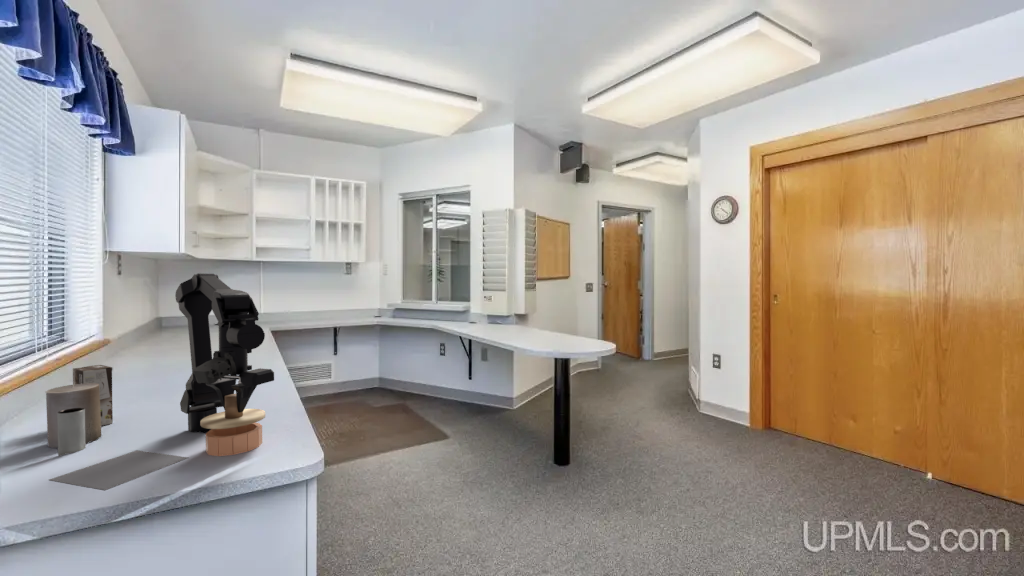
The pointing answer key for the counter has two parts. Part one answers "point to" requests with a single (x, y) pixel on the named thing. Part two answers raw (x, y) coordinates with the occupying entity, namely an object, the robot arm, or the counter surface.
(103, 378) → the coffee box
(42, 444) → the counter surface
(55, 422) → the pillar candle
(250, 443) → the bowl
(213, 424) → the lid
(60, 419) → the planter
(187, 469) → the counter surface
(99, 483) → the mat
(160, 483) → the counter surface
